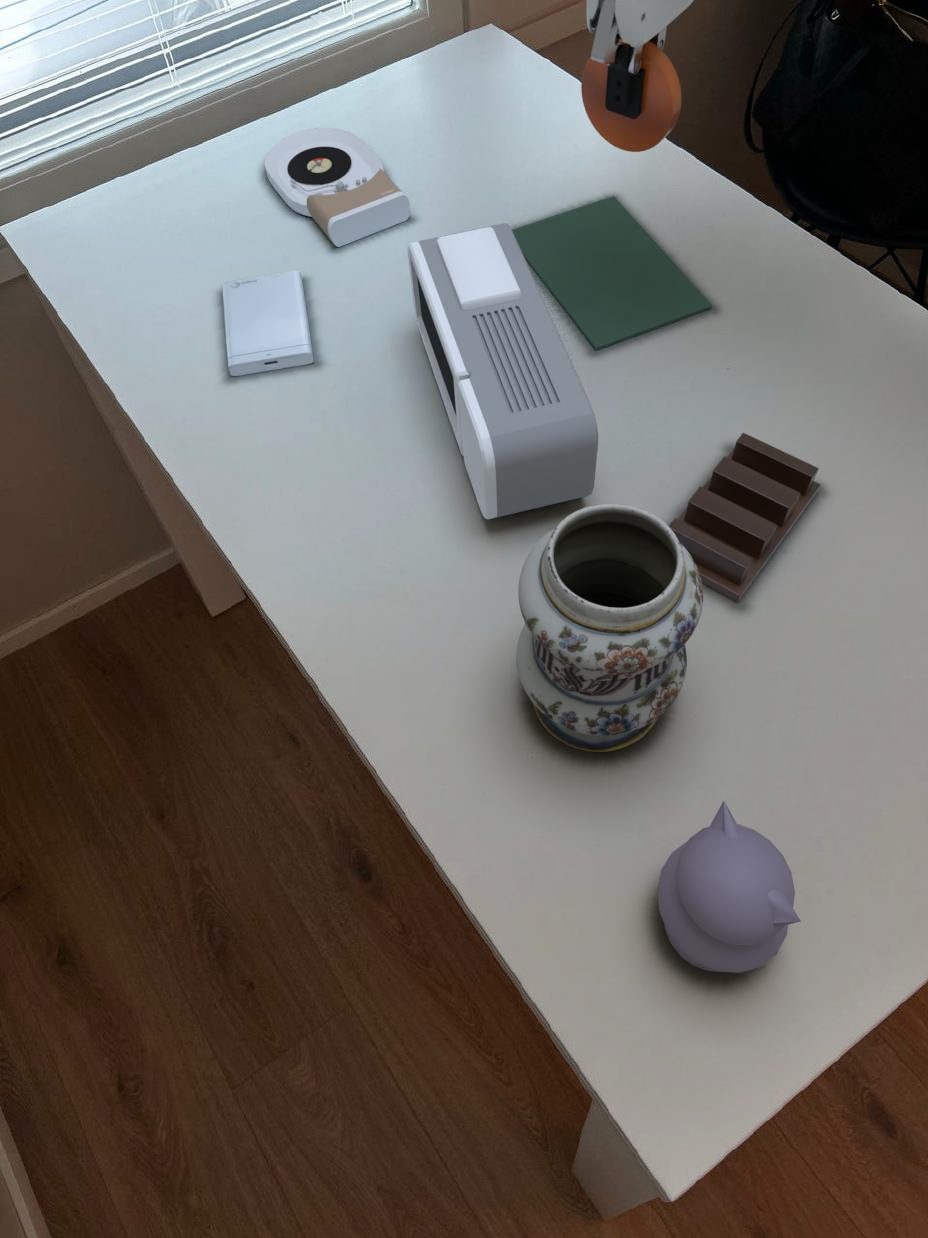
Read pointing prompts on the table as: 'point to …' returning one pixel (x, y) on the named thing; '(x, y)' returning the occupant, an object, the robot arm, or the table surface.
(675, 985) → the table surface
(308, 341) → the hard drive
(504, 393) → the alarm clock
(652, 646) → the apothecary jar
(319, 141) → the record player
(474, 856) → the table surface
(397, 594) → the table surface
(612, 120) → the disc
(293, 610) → the table surface
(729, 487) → the rack
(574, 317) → the mat
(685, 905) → the cat figurine
